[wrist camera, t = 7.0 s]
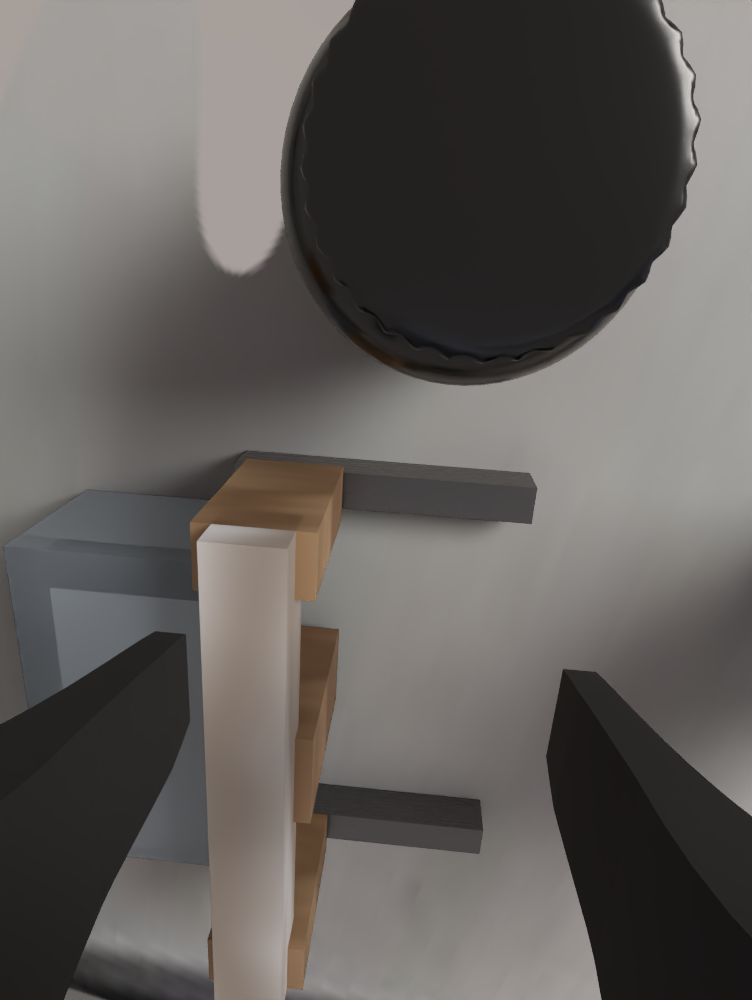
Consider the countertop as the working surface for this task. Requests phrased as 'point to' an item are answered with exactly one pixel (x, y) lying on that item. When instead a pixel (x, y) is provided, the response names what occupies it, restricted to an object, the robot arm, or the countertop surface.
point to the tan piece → (265, 716)
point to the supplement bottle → (486, 176)
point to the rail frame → (433, 495)
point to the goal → (116, 626)
